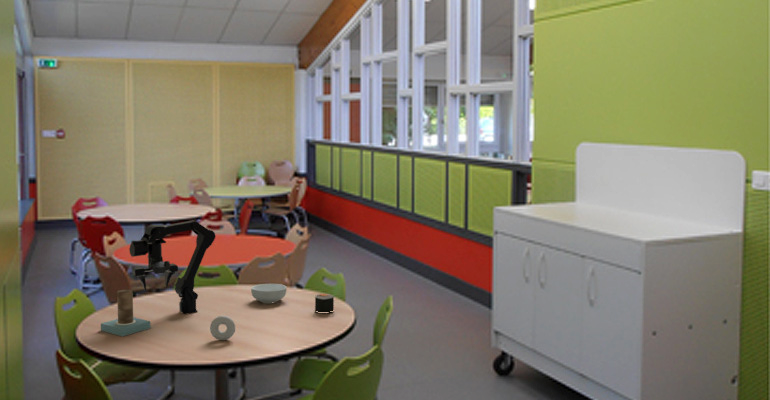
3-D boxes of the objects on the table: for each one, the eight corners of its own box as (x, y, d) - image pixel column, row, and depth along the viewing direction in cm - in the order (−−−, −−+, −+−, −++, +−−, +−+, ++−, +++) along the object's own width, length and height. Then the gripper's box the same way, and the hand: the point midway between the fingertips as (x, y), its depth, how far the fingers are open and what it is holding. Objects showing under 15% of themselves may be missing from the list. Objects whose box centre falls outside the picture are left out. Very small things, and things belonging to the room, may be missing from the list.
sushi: (322, 314, 329) (322, 297, 328) (311, 311, 335) (311, 294, 334) (336, 311, 334) (336, 294, 333) (326, 308, 340) (326, 291, 339)
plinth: (129, 322, 314) (129, 315, 313) (150, 328, 306) (150, 320, 306) (100, 330, 302) (100, 323, 302) (122, 336, 294) (122, 328, 294)
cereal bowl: (293, 300, 354) (293, 286, 353) (271, 307, 340) (270, 292, 339) (267, 295, 363) (267, 281, 362) (244, 302, 349) (243, 288, 348)
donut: (236, 338, 293) (235, 314, 292) (235, 341, 290) (234, 316, 289) (210, 339, 292) (210, 314, 291) (209, 341, 289) (209, 317, 288)
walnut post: (135, 319, 307) (134, 289, 305) (130, 324, 301) (129, 293, 299) (121, 319, 307) (120, 289, 305) (115, 323, 301) (114, 293, 299)
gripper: (138, 259, 307) (139, 295, 309) (181, 254, 317) (182, 289, 319) (131, 254, 316) (132, 290, 318) (173, 250, 326) (174, 284, 328)
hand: (155, 288), depth 320 cm, fingers open, 9 cm apart
